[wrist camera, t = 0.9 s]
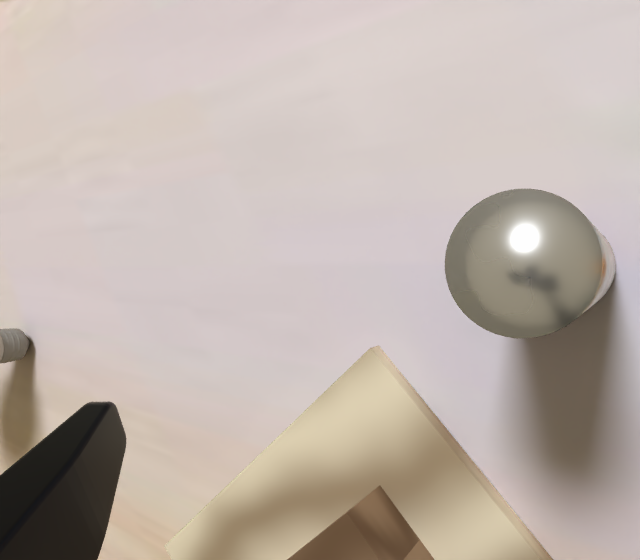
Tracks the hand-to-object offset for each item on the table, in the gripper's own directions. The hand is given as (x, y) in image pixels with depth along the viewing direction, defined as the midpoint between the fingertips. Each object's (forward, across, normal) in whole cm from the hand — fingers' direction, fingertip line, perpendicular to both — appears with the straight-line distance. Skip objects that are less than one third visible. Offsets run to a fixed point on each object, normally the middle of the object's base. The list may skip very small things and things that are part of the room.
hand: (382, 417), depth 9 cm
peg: (+14, -9, +6) cm, 17 cm away
